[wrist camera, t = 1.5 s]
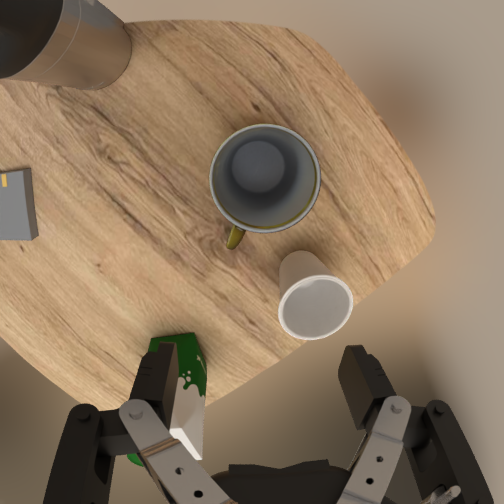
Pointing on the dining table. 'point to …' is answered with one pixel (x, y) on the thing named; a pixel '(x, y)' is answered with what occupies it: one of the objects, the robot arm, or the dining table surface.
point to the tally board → (17, 206)
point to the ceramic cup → (264, 180)
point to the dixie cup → (311, 297)
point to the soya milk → (186, 394)
